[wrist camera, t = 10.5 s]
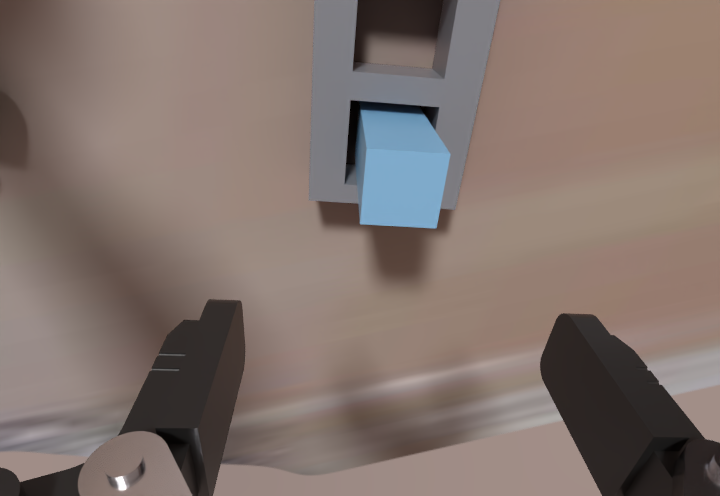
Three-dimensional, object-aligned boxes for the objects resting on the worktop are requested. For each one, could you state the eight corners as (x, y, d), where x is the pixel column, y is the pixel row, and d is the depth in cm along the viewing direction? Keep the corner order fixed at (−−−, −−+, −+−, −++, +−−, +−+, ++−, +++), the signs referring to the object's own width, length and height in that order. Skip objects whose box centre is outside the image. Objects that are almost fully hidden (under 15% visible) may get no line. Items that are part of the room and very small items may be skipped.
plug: (359, 98, 30) (366, 148, 21) (416, 102, 30) (450, 154, 21) (354, 155, 32) (359, 224, 23) (409, 158, 32) (436, 228, 23)
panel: (325, -240, 22) (322, -283, 18) (521, -213, 22) (553, -250, 19) (312, 178, 33) (308, 200, 29) (443, 187, 34) (455, 209, 30)
